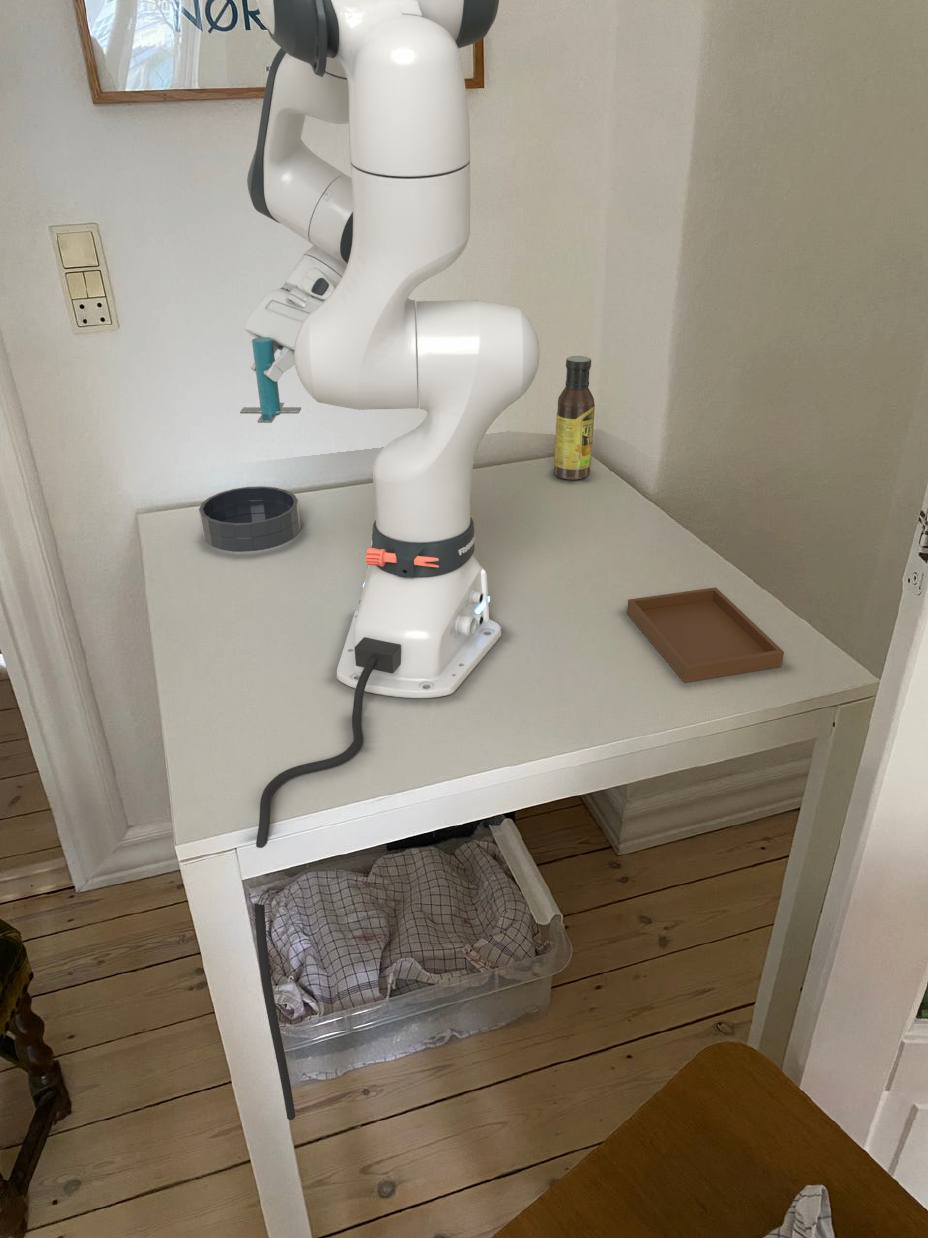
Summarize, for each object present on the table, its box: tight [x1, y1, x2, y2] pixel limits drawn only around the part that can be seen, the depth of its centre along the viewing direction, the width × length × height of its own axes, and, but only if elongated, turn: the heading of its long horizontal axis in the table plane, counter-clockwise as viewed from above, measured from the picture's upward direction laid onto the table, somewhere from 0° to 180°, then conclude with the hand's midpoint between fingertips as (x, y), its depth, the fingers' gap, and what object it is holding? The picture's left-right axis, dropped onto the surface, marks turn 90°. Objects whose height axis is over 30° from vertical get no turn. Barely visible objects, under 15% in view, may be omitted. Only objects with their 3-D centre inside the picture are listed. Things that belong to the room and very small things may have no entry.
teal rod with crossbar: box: [239, 337, 302, 424], centre depth 129 cm, size 8×8×10 cm
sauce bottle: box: [553, 355, 596, 481], centre depth 153 cm, size 6×6×20 cm
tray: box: [626, 587, 785, 684], centre depth 111 cm, size 16×12×2 cm
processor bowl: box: [198, 485, 302, 553], centre depth 137 cm, size 14×14×5 cm
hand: (262, 375), depth 129 cm, fingers closed on teal rod with crossbar, 3 cm apart
